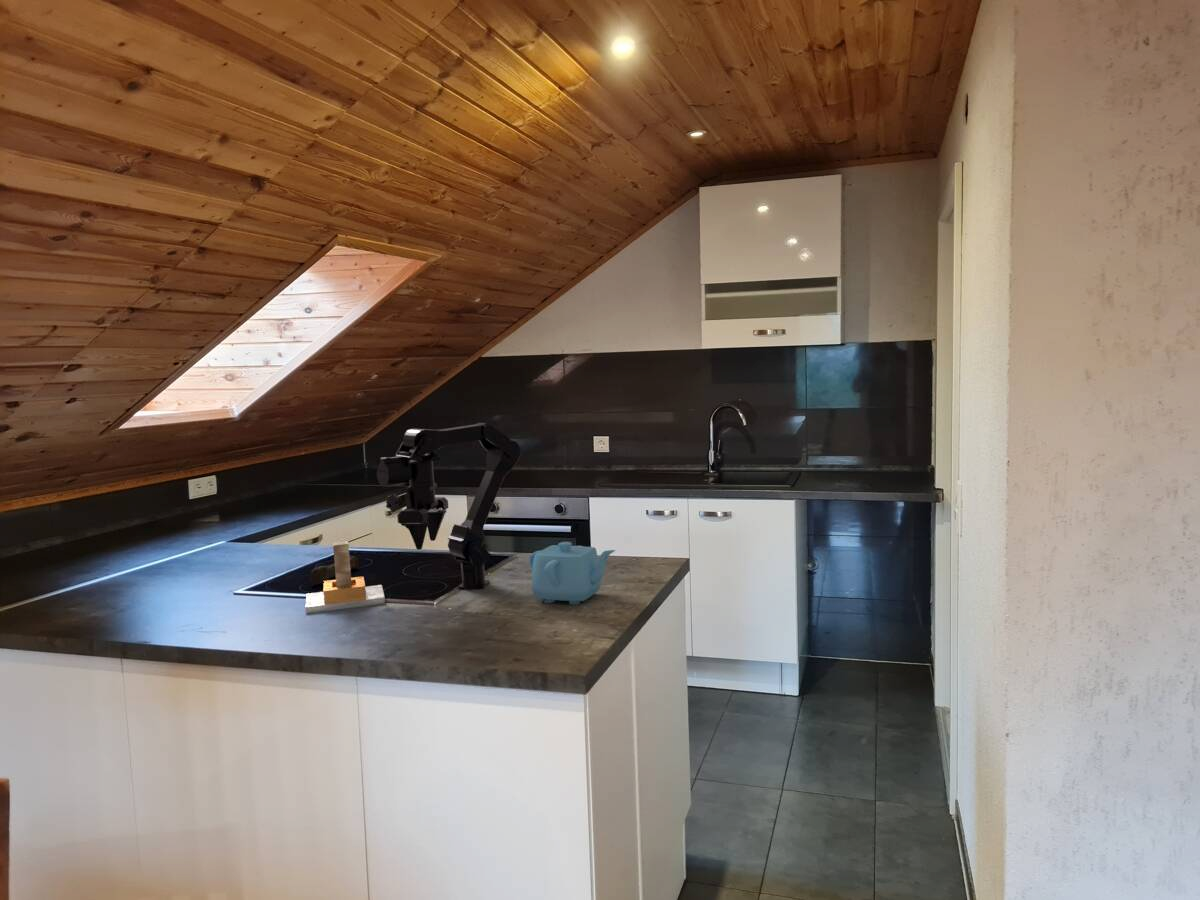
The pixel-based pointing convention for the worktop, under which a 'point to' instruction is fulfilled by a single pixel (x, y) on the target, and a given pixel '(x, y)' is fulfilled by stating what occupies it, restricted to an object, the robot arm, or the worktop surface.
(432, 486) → the robot arm
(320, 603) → the bracket plate
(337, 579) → the tan block
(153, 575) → the worktop surface
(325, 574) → the hand tool
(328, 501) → the worktop surface
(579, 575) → the teapot
